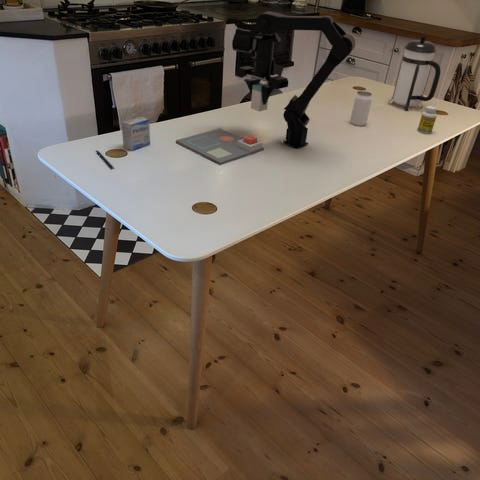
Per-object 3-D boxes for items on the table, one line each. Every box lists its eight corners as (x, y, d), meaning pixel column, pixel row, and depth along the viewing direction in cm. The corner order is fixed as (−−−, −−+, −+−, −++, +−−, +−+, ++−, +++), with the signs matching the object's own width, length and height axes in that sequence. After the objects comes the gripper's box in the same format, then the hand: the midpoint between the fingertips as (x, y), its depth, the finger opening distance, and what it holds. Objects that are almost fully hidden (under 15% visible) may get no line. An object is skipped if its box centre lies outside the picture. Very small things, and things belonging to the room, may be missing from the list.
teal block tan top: (267, 109, 160) (269, 85, 155) (259, 111, 157) (261, 87, 153) (258, 106, 162) (260, 83, 157) (250, 108, 159) (252, 84, 155)
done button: (256, 143, 154) (257, 138, 153) (249, 145, 152) (250, 140, 151) (249, 140, 156) (250, 135, 155) (243, 142, 154) (243, 137, 153)
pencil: (111, 170, 135) (94, 151, 146) (114, 169, 136) (97, 151, 146) (111, 167, 135) (94, 149, 145) (114, 167, 135) (97, 148, 146)
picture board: (264, 149, 155) (264, 142, 154) (220, 164, 143) (220, 157, 141) (219, 130, 168) (219, 123, 166) (175, 142, 155) (175, 135, 154)
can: (365, 121, 187) (371, 91, 180) (367, 127, 181) (374, 96, 175) (349, 119, 187) (355, 90, 180) (350, 125, 182) (356, 94, 175)
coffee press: (387, 109, 203) (405, 35, 186) (388, 99, 216) (405, 29, 199) (428, 115, 199) (450, 40, 183) (427, 105, 212) (447, 34, 196)
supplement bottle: (429, 129, 184) (436, 105, 178) (433, 134, 179) (440, 110, 174) (415, 128, 184) (422, 104, 179) (418, 133, 179) (426, 108, 174)
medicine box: (132, 151, 147) (130, 125, 142) (123, 147, 149) (120, 121, 144) (150, 144, 152) (149, 119, 148) (141, 141, 155) (139, 115, 150)
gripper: (302, 58, 149) (295, 106, 158) (260, 46, 160) (256, 92, 169) (279, 62, 143) (273, 112, 151) (237, 50, 153) (234, 97, 162)
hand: (259, 102), depth 158 cm, fingers closed on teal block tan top, 4 cm apart
